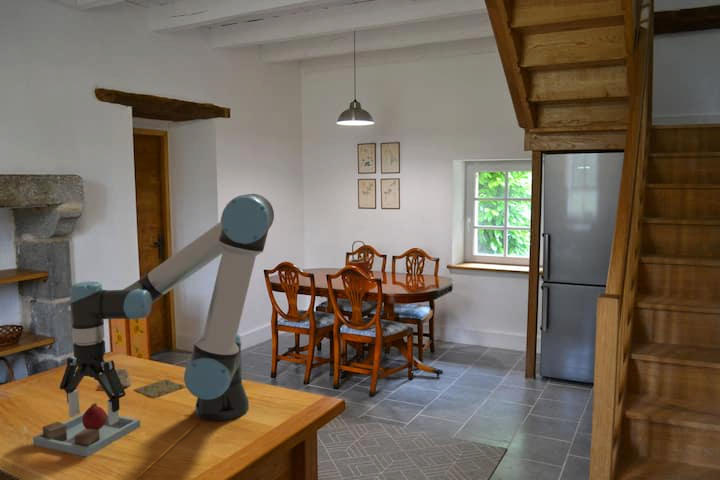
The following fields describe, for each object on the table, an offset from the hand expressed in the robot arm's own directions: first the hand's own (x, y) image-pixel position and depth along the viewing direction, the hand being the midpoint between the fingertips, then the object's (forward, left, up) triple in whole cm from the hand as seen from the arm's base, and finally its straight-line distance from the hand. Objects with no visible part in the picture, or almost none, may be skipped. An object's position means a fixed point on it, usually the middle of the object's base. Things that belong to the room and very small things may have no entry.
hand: (93, 419), depth 152 cm
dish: (0, +2, -4) cm, 5 cm away
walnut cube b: (+6, +8, -4) cm, 10 cm away
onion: (0, 0, -4) cm, 4 cm away
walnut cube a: (-5, +8, -4) cm, 10 cm away
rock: (+22, -31, -5) cm, 38 cm away
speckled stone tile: (+6, -32, -5) cm, 33 cm away
